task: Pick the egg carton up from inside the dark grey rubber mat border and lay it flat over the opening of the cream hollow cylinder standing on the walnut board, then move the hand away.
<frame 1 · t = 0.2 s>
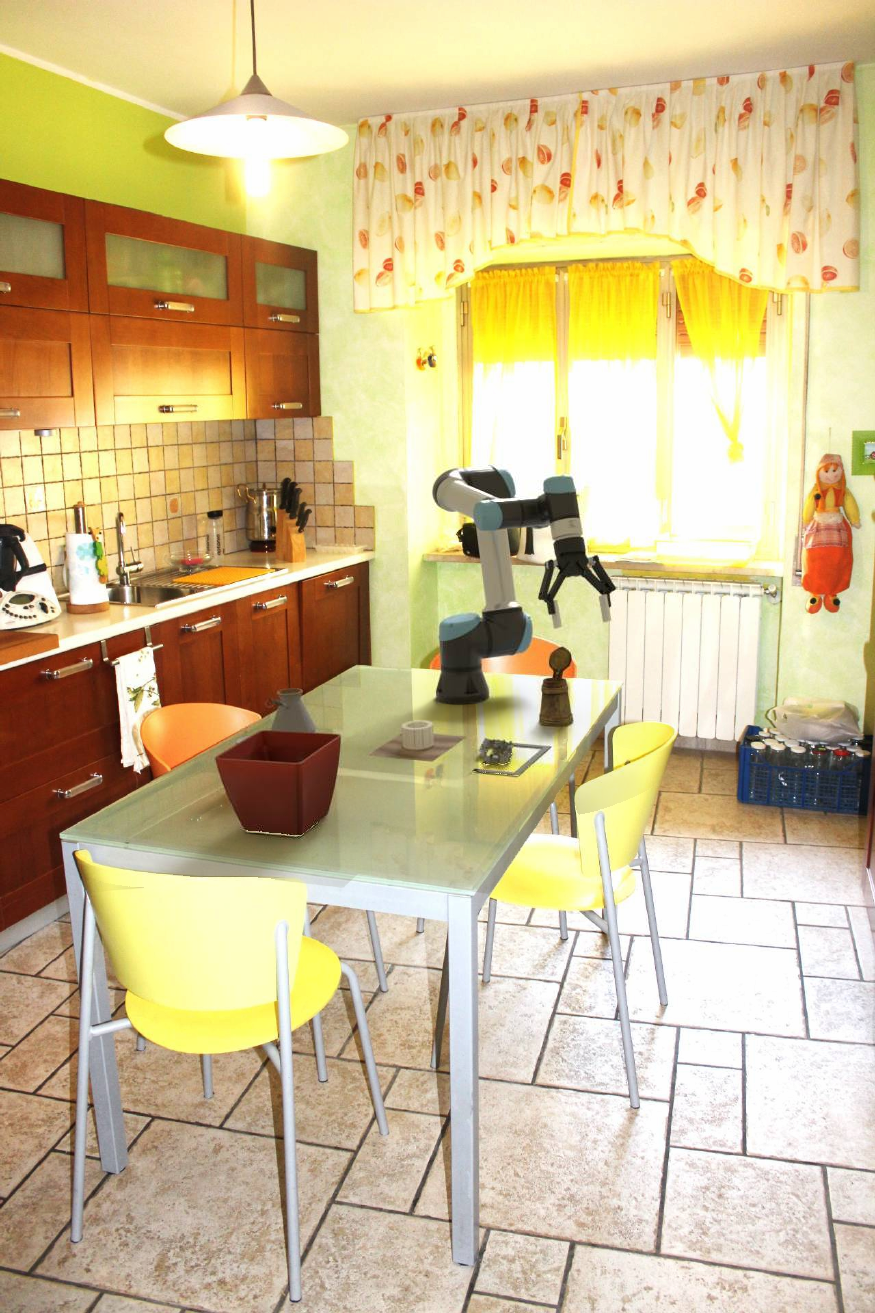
hand: (582, 624, 267), 28 cm above the table, tool tilted 20°, fingers open, 13 cm apart
wooden mug: (558, 719, 288), on the table
egg carton: (496, 759, 259), on the table
plant pot: (286, 825, 224), on the table
cream hollow cylinder: (418, 745, 268), resting on walnut board
mat border: (497, 757, 259), on the table
canned food: (258, 787, 248), on the table
coffee pot: (288, 747, 277), on the table
walnut board: (418, 750, 268), on the table
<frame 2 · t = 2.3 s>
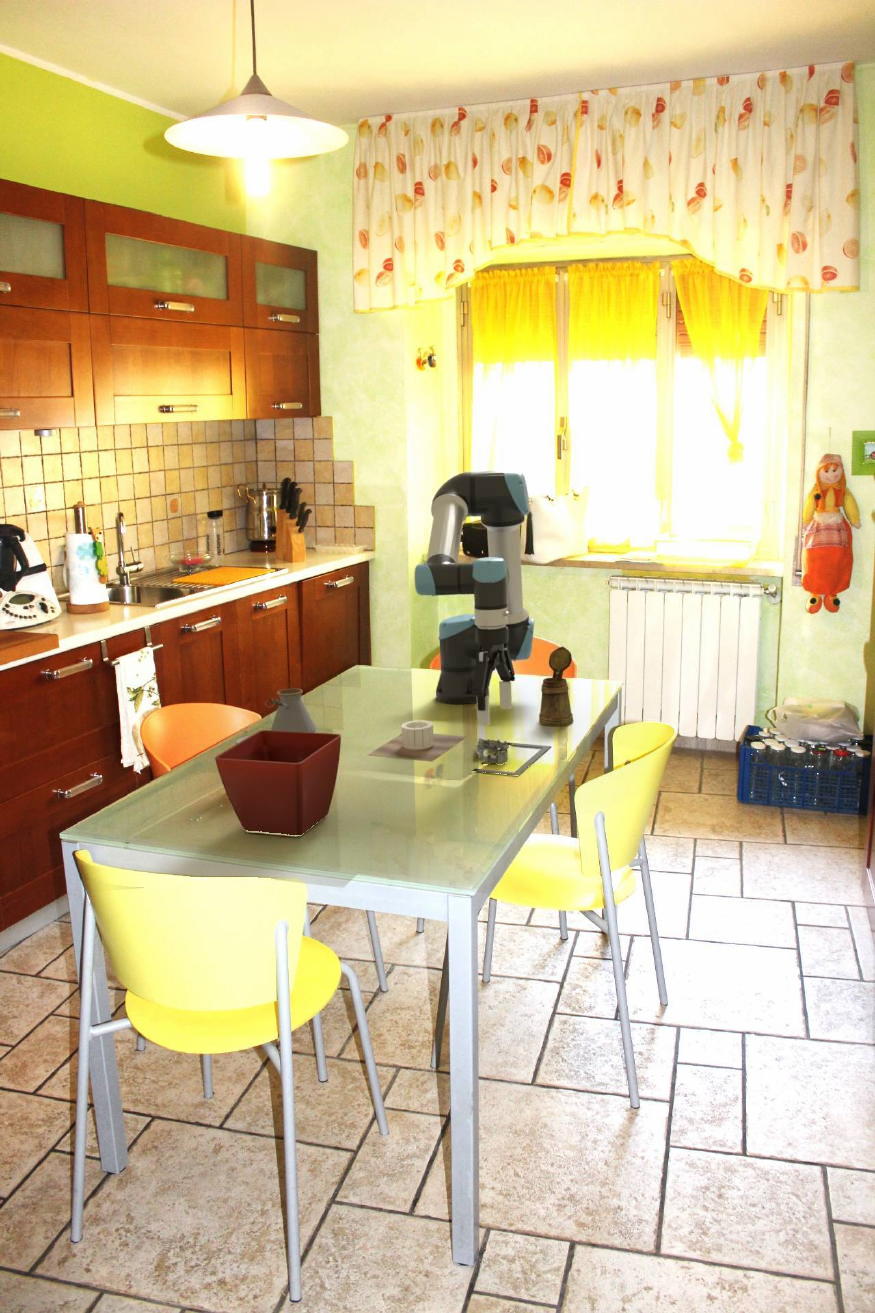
hand: (495, 716, 257), 10 cm above the table, tool pointing down, fingers open, 13 cm apart
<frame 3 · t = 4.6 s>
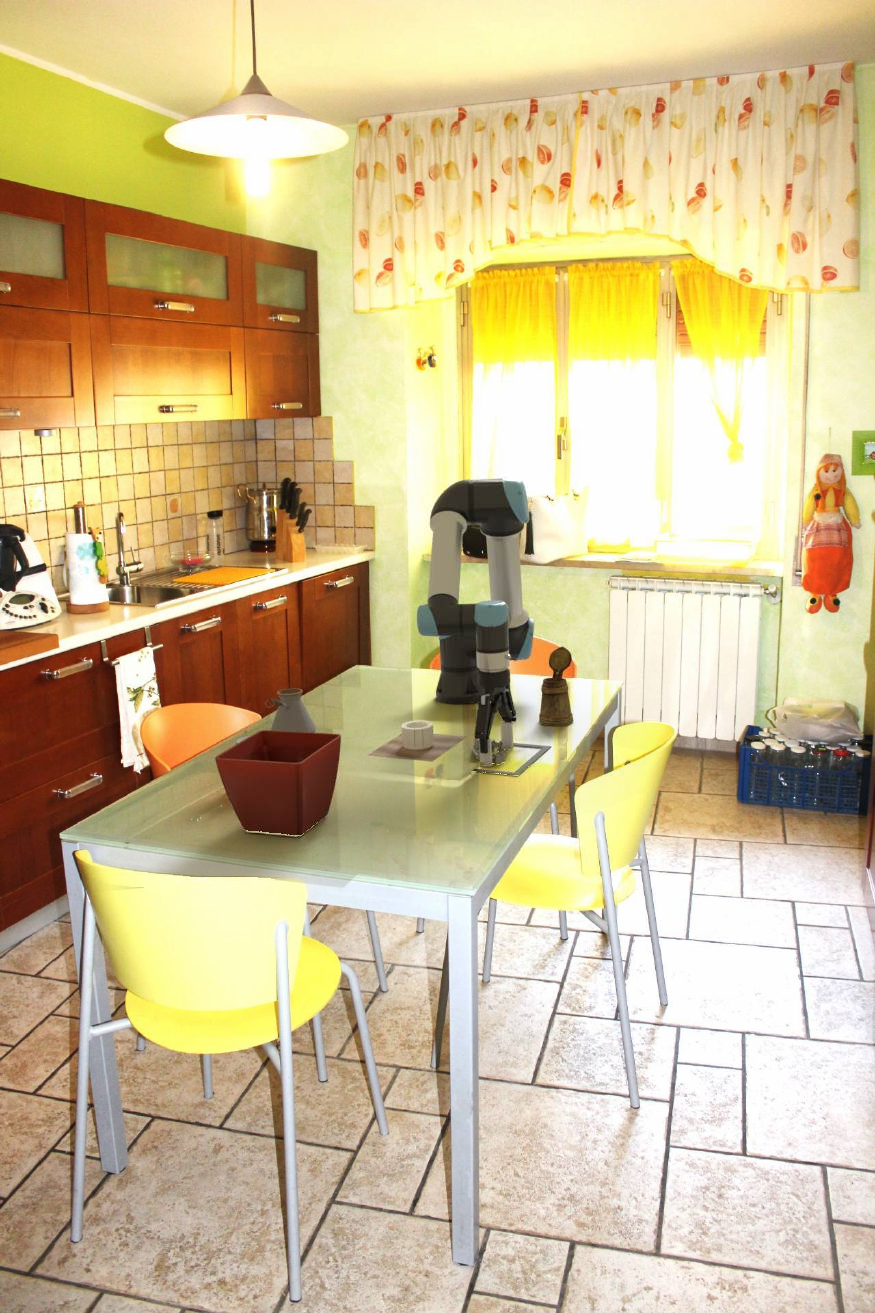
hand: (497, 757, 259), 0 cm above the table, tool pointing down, fingers open, 13 cm apart
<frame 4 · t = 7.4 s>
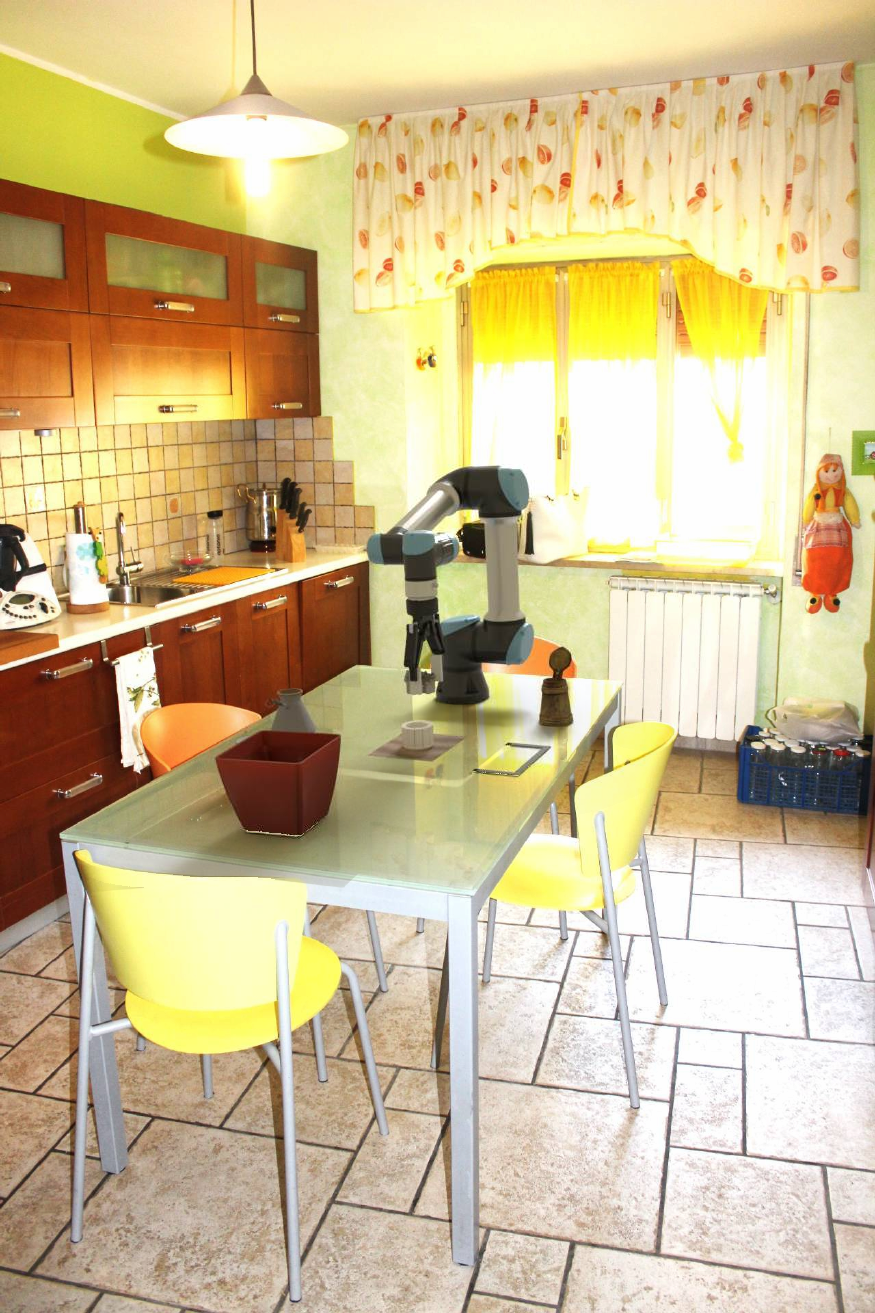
hand: (427, 687, 263), 16 cm above the table, tool pointing down, fingers closed on egg carton, 11 cm apart
egg carton: (420, 689, 264), point 15 cm above the table, touching gripper
everything else where it was.
when the fingers open (8 cm above the table, at t = 10.0 s): egg carton stays where it is, resting on cream hollow cylinder.
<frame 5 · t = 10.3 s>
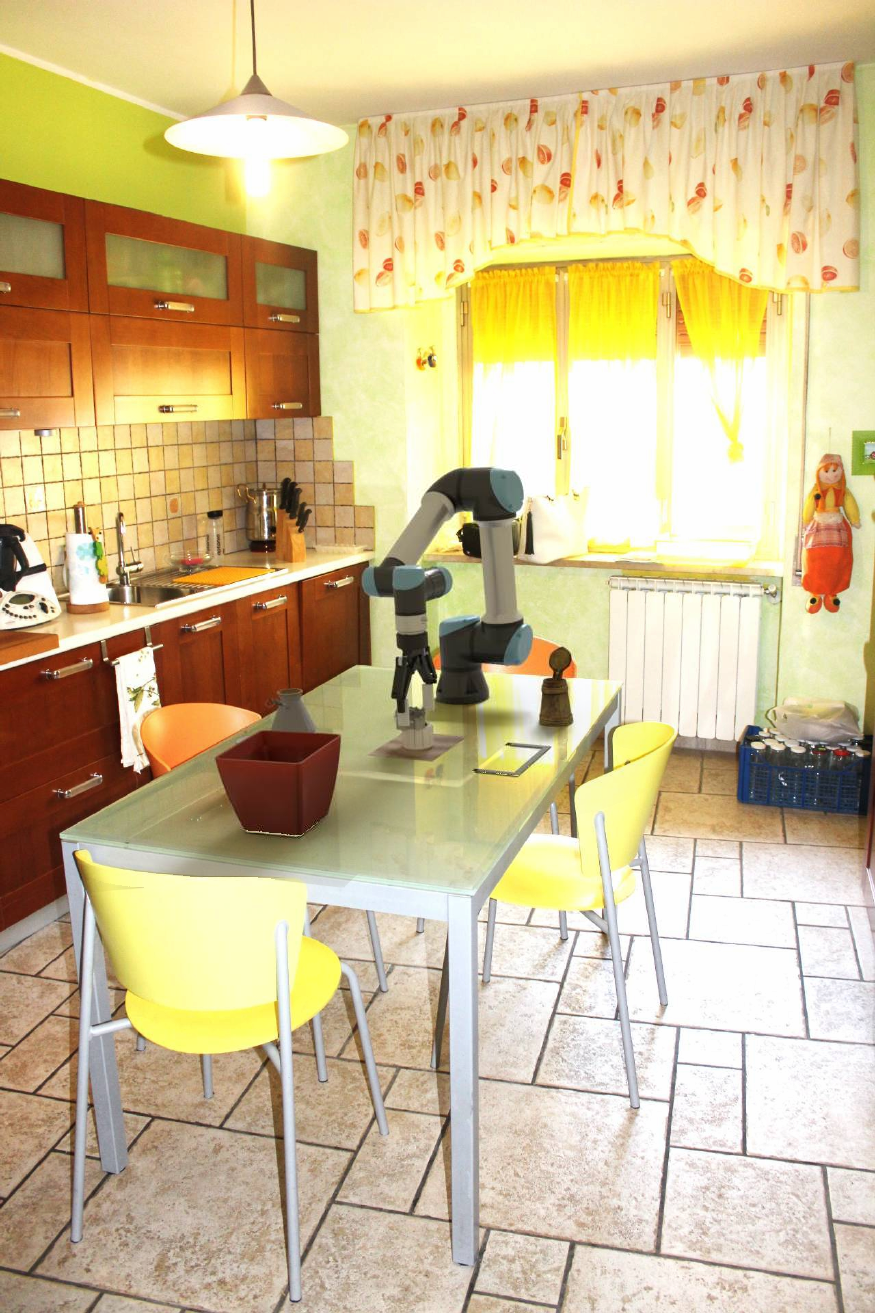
hand: (416, 717, 266), 8 cm above the table, tool pointing down, fingers open, 13 cm apart
egg carton: (410, 725, 267), point 6 cm above the table, touching cream hollow cylinder
everything else where it was.
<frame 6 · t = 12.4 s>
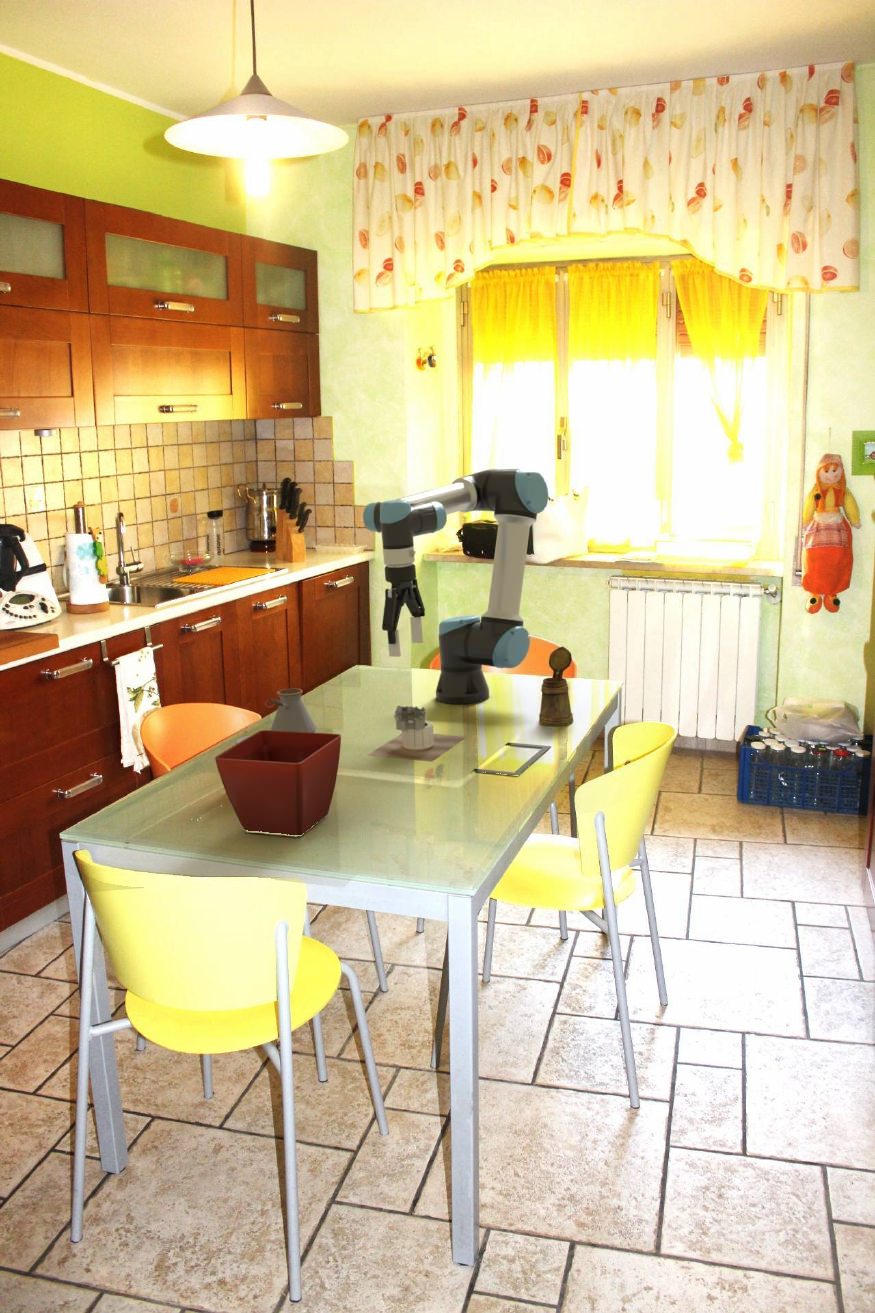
hand: (406, 649, 273), 23 cm above the table, tool pointing down, fingers open, 13 cm apart
nothing on the table moved.
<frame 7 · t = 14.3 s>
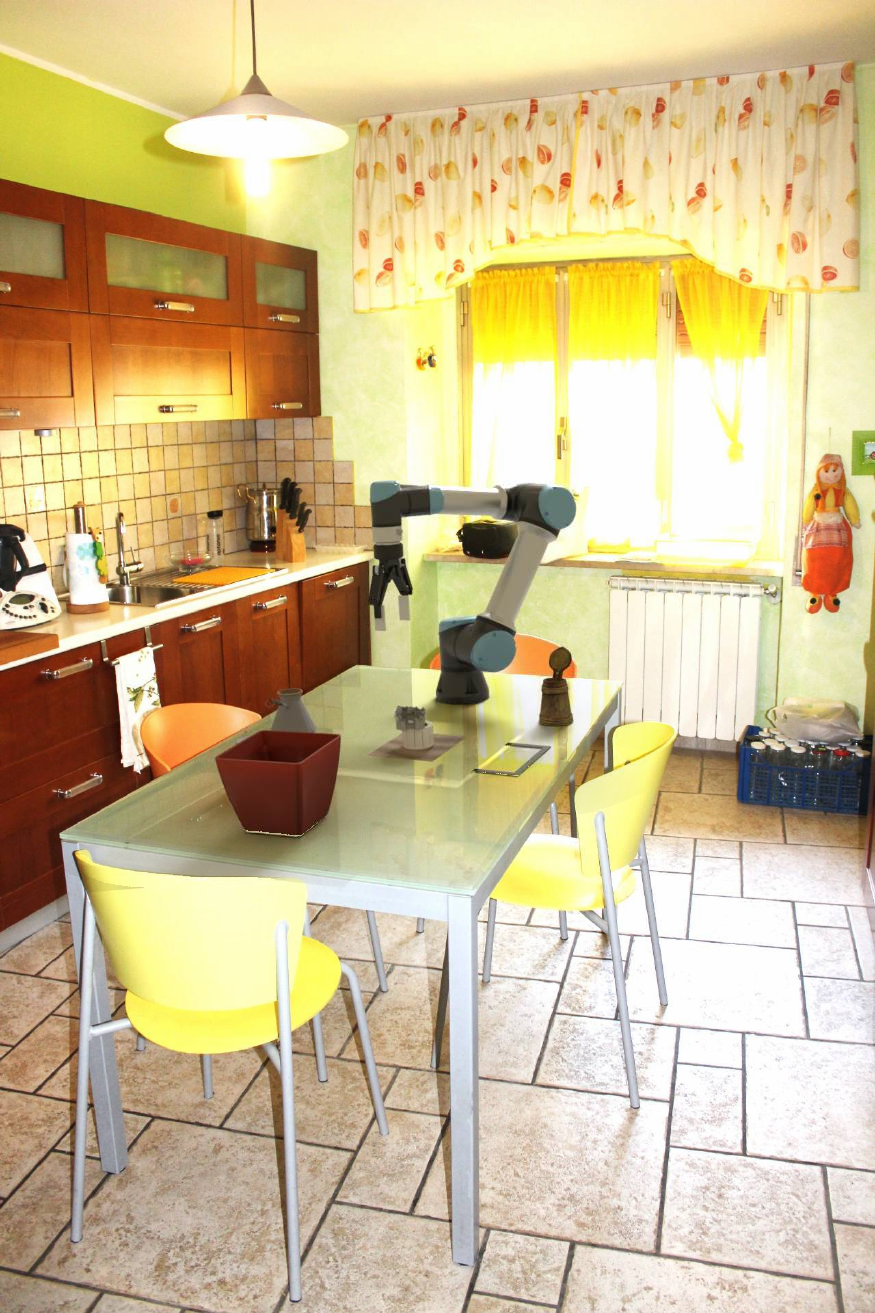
hand: (392, 625, 284), 27 cm above the table, tool pointing down, fingers open, 13 cm apart
nothing on the table moved.
at the end: egg carton 1.6 cm off-centre on the cream hollow cylinder, point 5.0 cm above the cream hollow cylinder's base; egg carton tilted 0°; the gripper is holding nothing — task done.
